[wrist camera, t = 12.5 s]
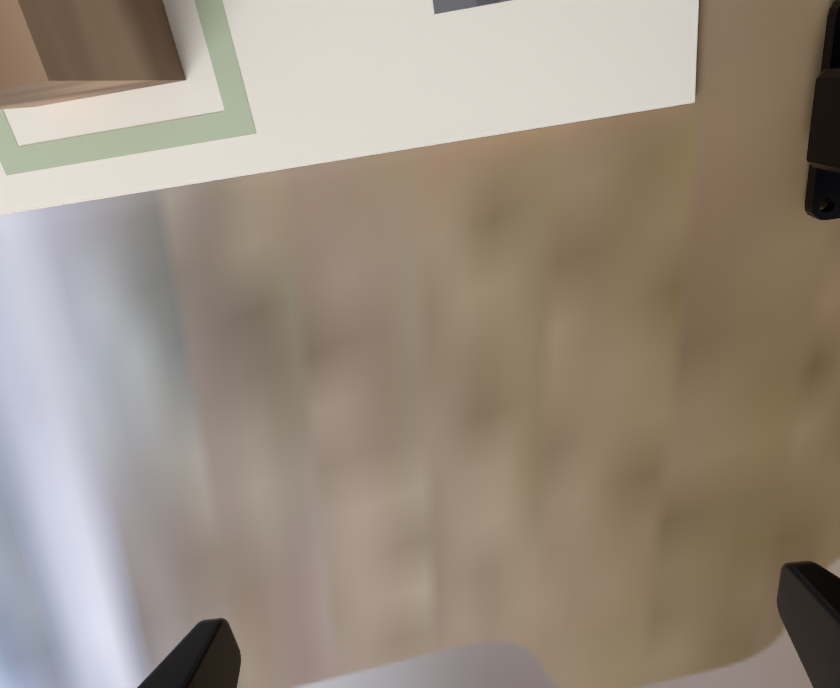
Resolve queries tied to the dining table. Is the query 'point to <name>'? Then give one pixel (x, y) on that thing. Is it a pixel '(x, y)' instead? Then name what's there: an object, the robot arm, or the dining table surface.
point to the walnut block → (83, 49)
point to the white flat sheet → (347, 88)
